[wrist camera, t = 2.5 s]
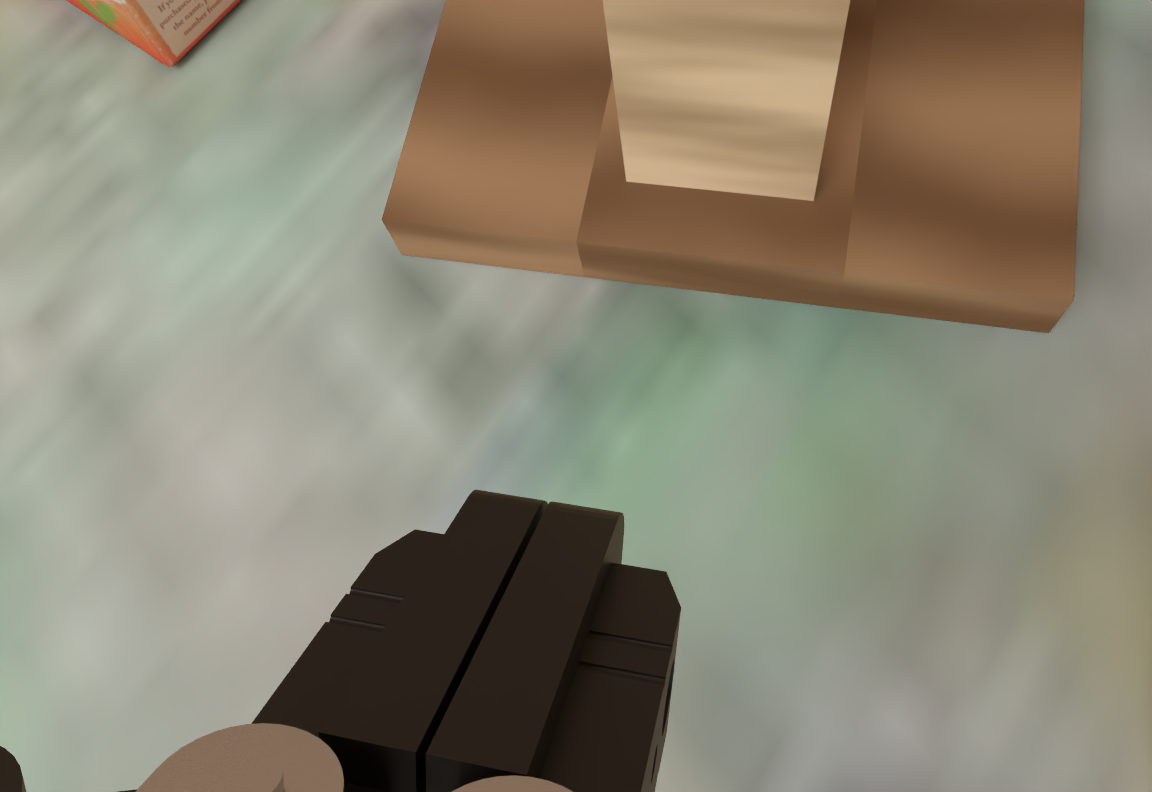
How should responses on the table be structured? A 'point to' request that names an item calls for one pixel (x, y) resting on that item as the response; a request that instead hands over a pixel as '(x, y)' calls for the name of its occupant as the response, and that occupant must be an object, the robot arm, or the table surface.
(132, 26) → the cracker box
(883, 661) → the table surface
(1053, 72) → the trap deck
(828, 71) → the maple block
